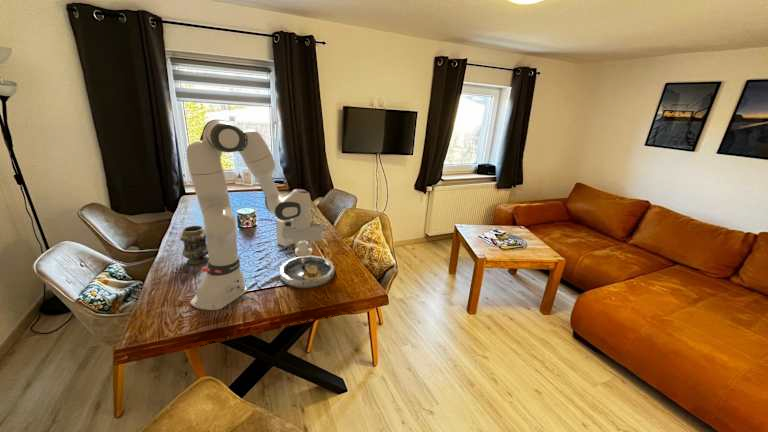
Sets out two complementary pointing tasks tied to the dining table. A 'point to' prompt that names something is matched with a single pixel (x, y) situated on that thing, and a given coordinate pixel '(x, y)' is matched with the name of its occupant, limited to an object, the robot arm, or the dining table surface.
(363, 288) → the dining table surface
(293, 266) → the grey round tray
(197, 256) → the apothecary jar
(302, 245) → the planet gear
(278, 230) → the milk carton
